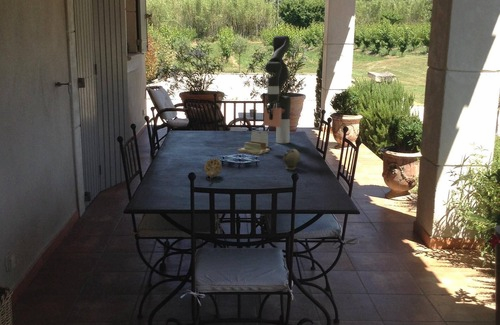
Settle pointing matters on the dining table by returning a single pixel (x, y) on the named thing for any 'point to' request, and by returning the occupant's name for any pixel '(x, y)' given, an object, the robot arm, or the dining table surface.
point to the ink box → (260, 136)
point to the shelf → (254, 147)
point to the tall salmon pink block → (276, 118)
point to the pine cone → (213, 167)
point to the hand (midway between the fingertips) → (272, 119)
